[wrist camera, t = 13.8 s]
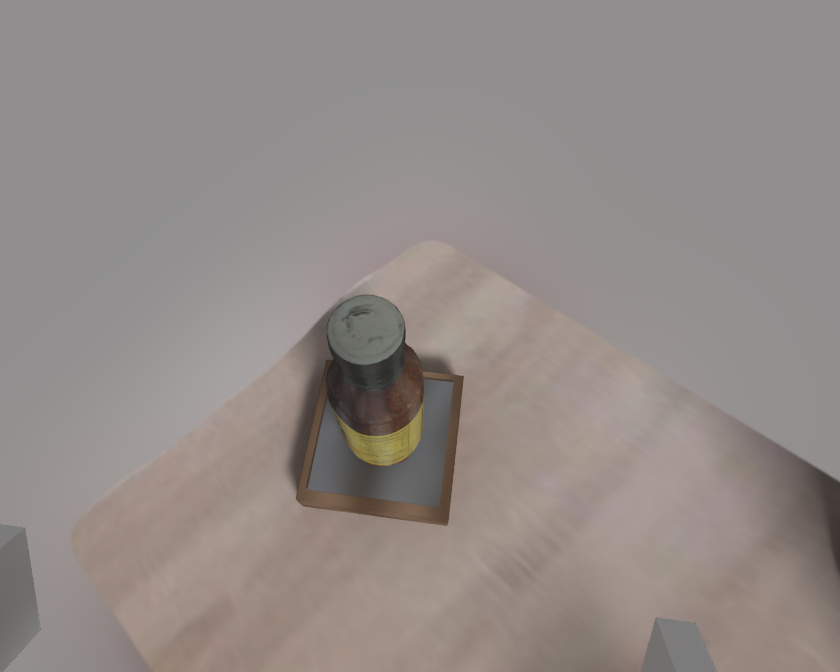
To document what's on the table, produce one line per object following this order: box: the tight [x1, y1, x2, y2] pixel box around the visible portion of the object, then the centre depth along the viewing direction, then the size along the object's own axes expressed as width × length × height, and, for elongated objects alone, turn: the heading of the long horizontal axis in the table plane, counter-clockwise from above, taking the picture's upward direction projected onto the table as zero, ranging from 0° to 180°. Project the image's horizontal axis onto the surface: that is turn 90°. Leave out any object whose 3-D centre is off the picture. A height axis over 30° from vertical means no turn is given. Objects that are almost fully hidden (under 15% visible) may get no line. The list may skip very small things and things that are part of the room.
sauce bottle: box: [326, 295, 424, 466], centre depth 38 cm, size 7×6×20 cm
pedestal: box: [296, 360, 464, 526], centre depth 49 cm, size 12×12×3 cm
